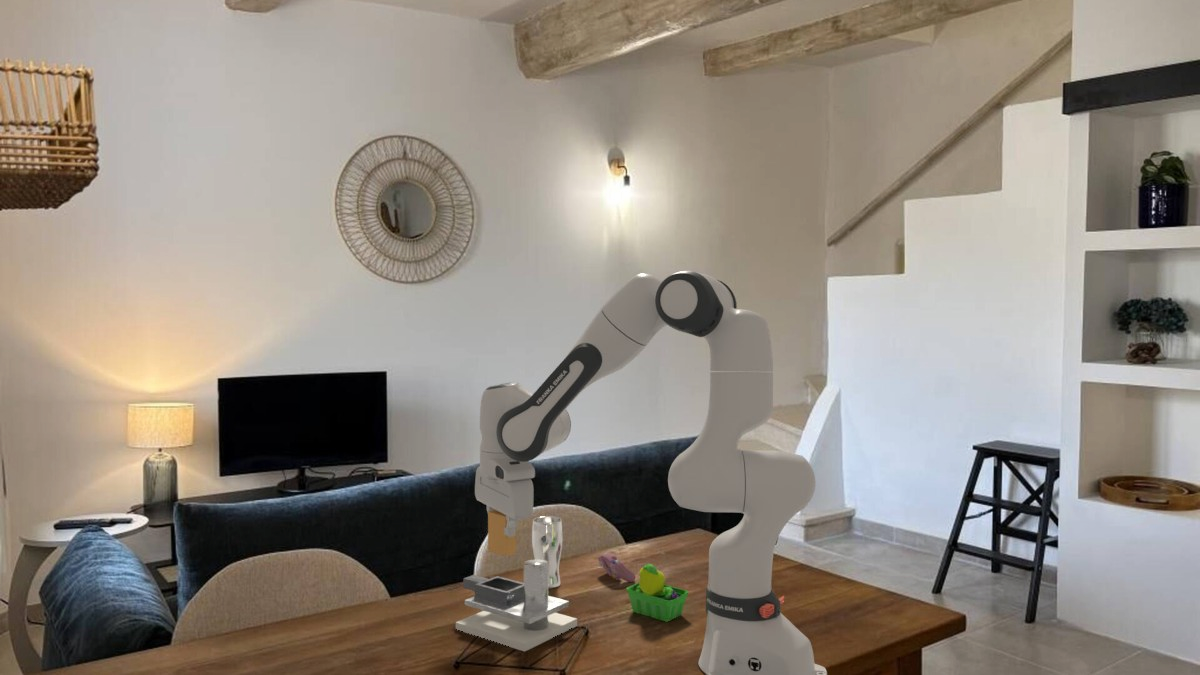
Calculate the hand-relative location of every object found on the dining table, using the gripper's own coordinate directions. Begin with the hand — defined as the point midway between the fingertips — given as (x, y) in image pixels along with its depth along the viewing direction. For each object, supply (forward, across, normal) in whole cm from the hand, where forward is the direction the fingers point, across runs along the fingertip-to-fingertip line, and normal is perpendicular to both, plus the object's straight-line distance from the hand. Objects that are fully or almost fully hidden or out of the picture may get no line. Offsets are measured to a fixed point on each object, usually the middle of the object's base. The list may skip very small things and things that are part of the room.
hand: (502, 531), depth 180 cm
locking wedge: (+4, 0, 0) cm, 4 cm away
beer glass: (+19, -16, +19) cm, 31 cm away
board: (+19, +4, +1) cm, 19 cm away
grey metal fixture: (+17, +2, 0) cm, 17 cm away
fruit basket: (+19, +12, +30) cm, 37 cm away
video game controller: (+19, -13, +35) cm, 42 cm away
